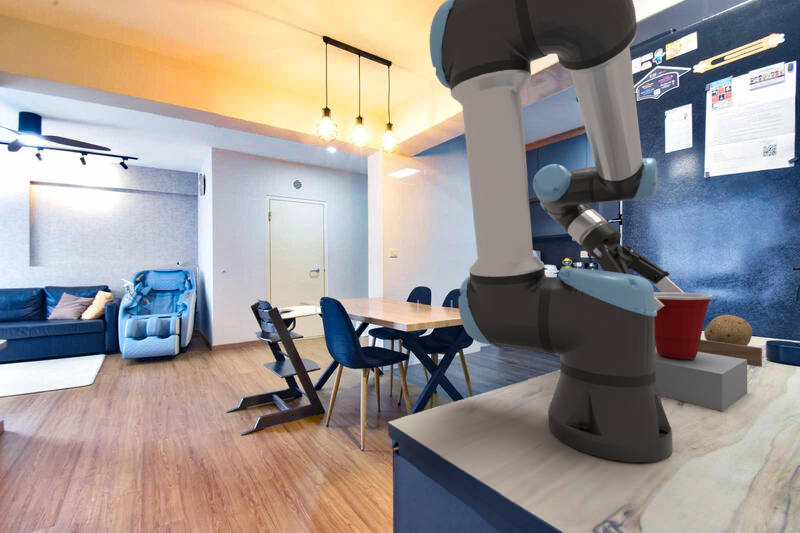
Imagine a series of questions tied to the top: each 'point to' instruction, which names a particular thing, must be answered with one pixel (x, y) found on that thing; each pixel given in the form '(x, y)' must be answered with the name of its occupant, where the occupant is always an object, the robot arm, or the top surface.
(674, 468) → the top surface
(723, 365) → the grey square block
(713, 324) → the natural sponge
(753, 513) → the top surface
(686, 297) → the plastic cup
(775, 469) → the top surface
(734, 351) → the brown wooden frame
